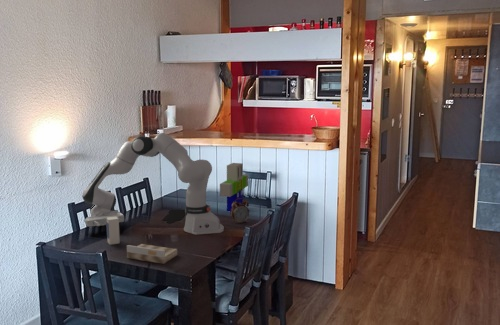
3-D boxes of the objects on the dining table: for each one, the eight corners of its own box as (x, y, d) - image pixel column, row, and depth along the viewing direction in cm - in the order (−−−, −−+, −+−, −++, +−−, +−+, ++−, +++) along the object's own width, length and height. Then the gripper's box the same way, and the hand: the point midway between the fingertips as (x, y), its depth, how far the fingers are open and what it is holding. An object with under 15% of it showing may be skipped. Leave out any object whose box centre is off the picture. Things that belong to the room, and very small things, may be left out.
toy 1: (189, 210, 307) (177, 223, 278) (189, 210, 307) (177, 224, 278) (170, 209, 308) (157, 222, 279) (170, 210, 309) (157, 223, 279)
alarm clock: (233, 225, 276) (233, 199, 273) (229, 222, 280) (229, 198, 277) (250, 222, 280) (250, 198, 278) (246, 220, 284) (246, 196, 282)
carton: (117, 240, 248) (116, 216, 246) (119, 243, 244) (118, 218, 242) (107, 241, 246) (105, 217, 243) (109, 244, 241) (108, 220, 239)
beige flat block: (177, 255, 227) (176, 243, 226) (163, 264, 216) (163, 251, 215) (141, 249, 234) (141, 238, 233) (126, 258, 223) (126, 246, 222)
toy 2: (230, 217, 291) (230, 169, 287) (220, 216, 294) (219, 168, 289) (248, 204, 323) (248, 160, 318) (238, 203, 325) (238, 160, 321)
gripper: (82, 214, 260) (87, 220, 248) (120, 209, 270) (126, 215, 258) (83, 225, 261) (88, 232, 249) (120, 220, 271) (126, 226, 259)
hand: (107, 223), depth 254 cm, fingers open, 8 cm apart
